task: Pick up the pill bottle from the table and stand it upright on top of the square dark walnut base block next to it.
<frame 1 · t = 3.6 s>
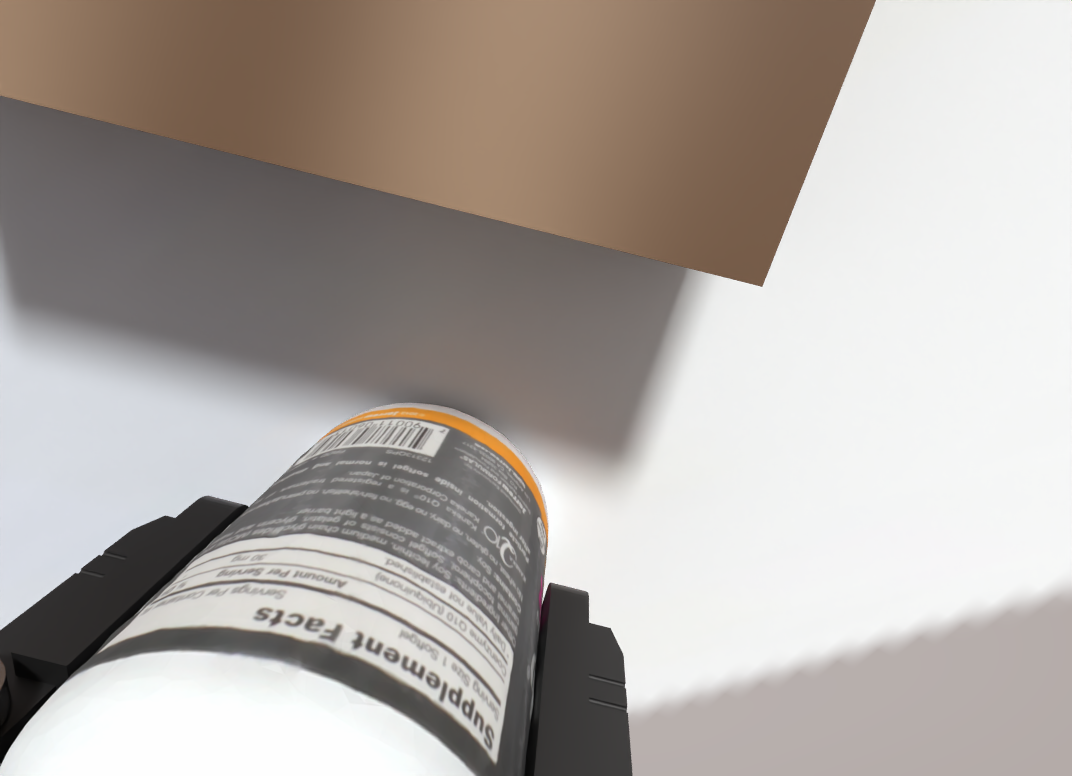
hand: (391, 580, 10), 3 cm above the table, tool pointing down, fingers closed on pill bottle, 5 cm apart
pill bottle: (432, 498, 13), on the table, touching gripper
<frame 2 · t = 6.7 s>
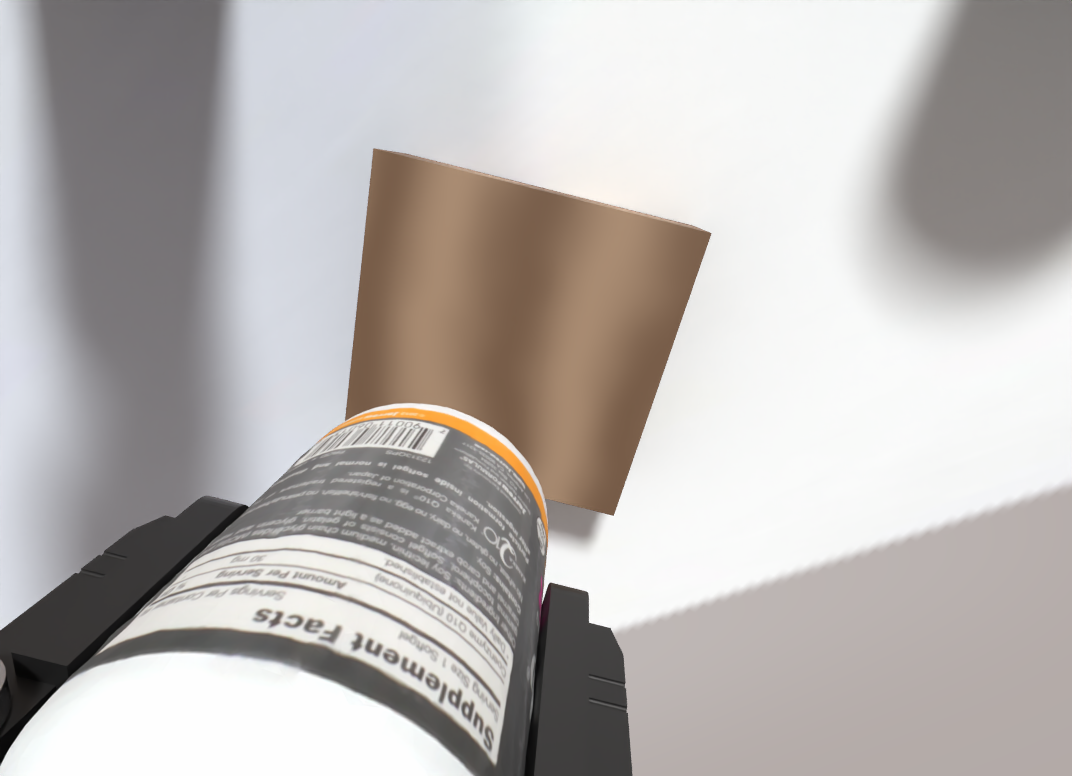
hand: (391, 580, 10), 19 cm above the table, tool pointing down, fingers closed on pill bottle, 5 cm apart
pill bottle: (432, 498, 13), point 16 cm above the table, touching gripper
walnut base: (517, 329, 28), on the table
when the fingers open (8 cm above the table, at t = 10.0 s): pill bottle drops 1 cm, resting on walnut base.
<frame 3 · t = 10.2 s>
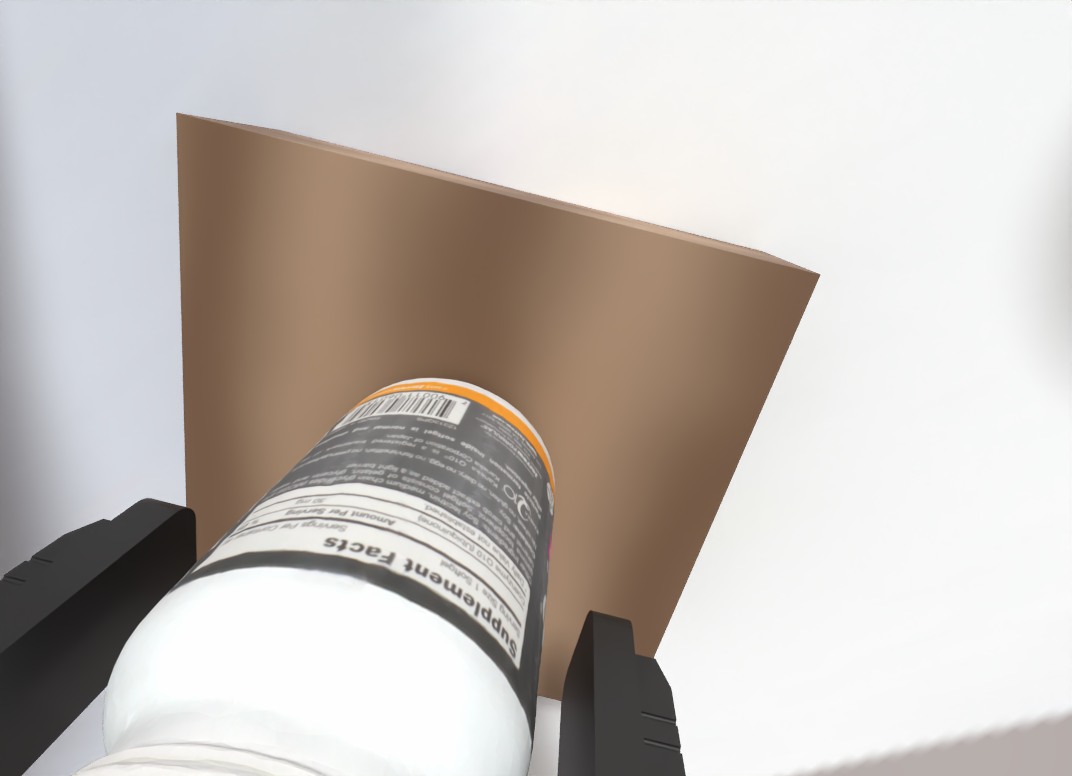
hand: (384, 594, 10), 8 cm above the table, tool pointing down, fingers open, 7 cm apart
pill bottle: (449, 466, 14), point 4 cm above the table, touching walnut base
walnut base: (475, 410, 17), on the table
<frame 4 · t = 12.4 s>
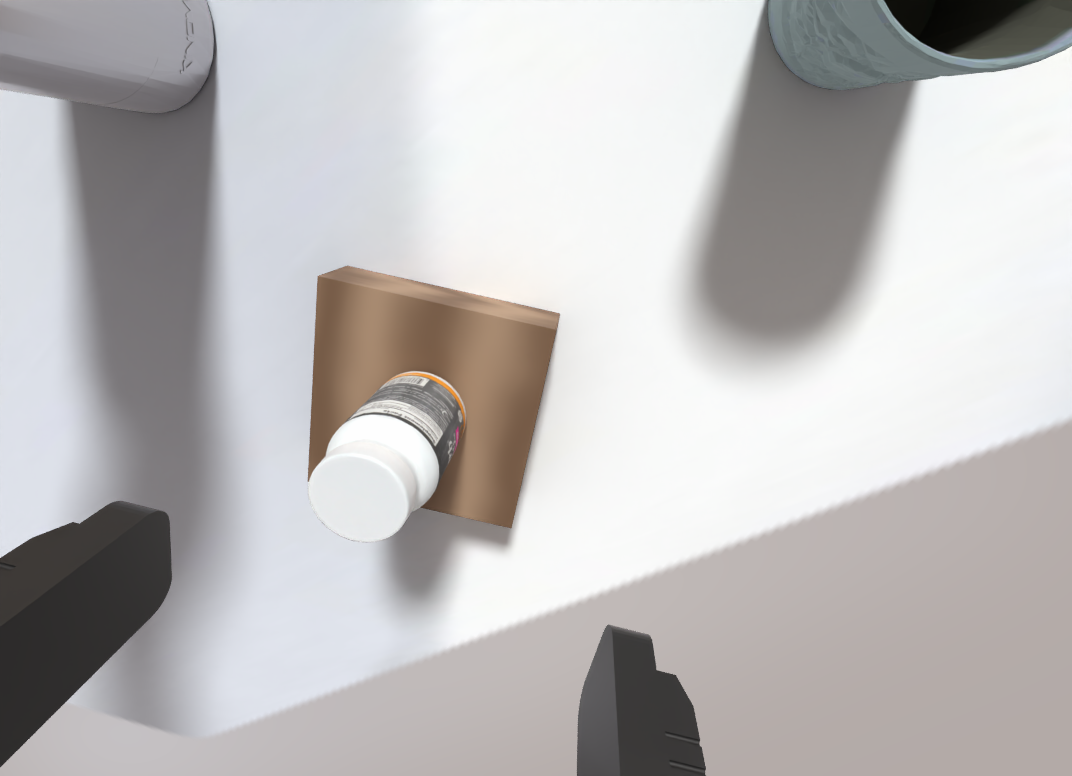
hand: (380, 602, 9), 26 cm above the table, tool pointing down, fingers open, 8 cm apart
pill bottle: (424, 409, 33), point 4 cm above the table, touching walnut base
green plant pot: (853, 1, 27), on the table
walnut base: (438, 388, 36), on the table
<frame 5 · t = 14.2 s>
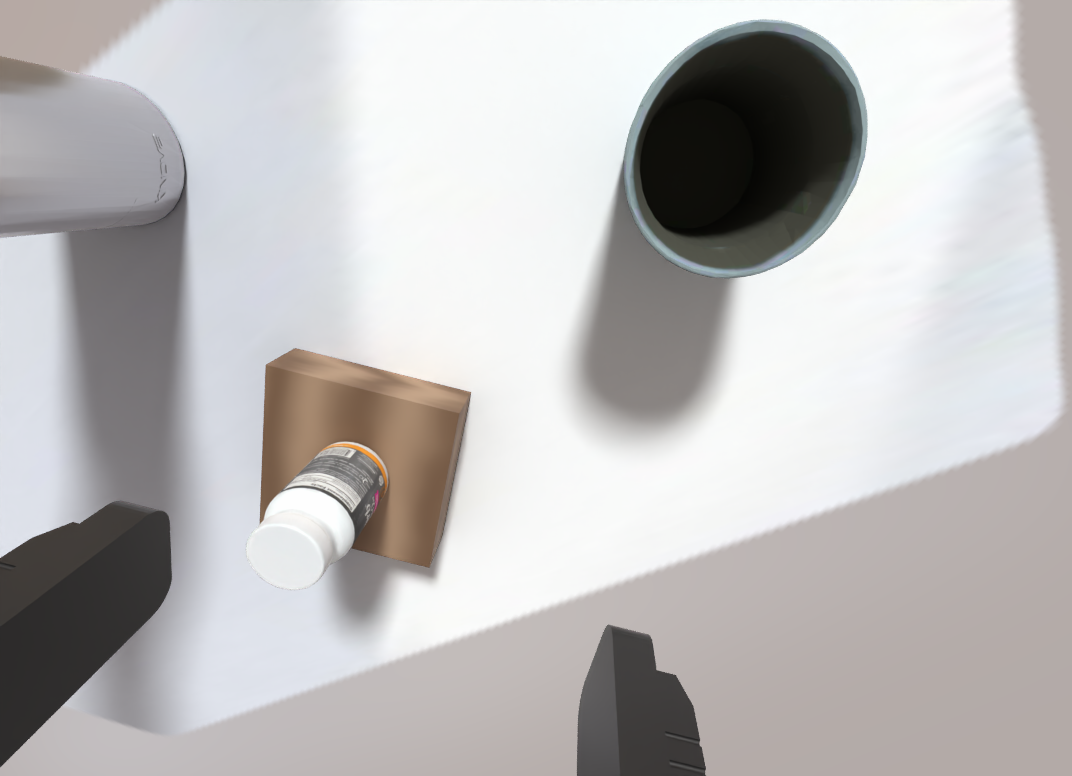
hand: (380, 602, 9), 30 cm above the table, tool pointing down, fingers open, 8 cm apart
pill bottle: (354, 470, 40), point 4 cm above the table, touching walnut base
green plant pot: (691, 167, 34), on the table
walnut base: (373, 448, 43), on the table
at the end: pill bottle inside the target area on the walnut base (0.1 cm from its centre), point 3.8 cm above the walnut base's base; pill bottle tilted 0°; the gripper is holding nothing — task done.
